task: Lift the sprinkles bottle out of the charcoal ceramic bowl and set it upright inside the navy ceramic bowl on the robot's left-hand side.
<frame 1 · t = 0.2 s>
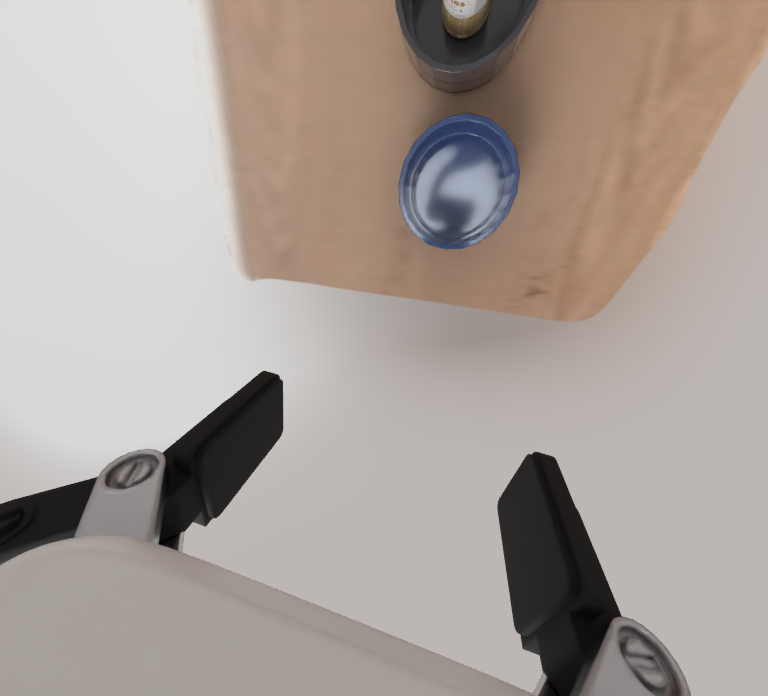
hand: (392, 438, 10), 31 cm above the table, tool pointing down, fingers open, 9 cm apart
charcoal bowl: (466, 10, 26), on the table
sprinkles bottle: (466, 9, 26), resting on charcoal bowl
navy bowl: (455, 191, 33), on the table
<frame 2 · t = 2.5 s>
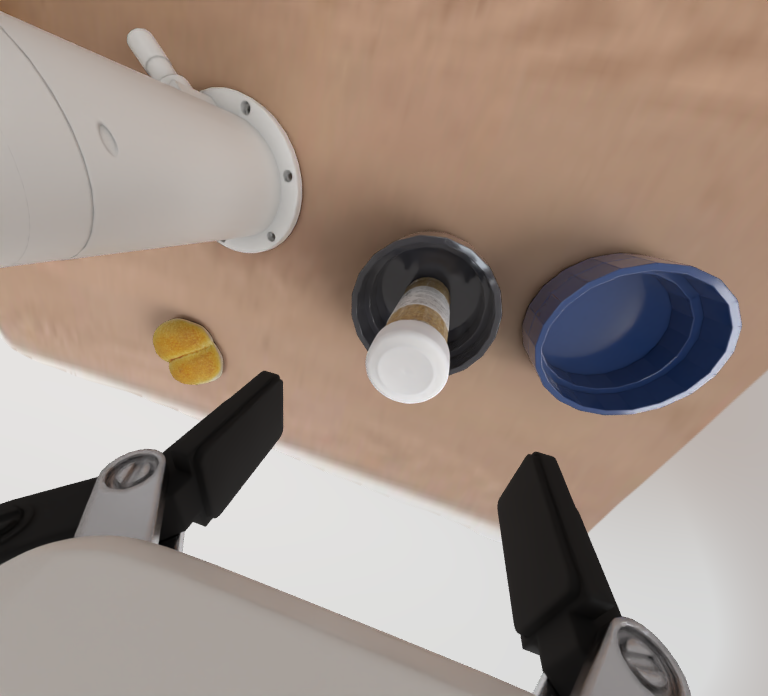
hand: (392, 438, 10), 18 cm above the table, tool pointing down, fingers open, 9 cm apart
charcoal bowl: (427, 298, 26), on the table
sprinkles bottle: (426, 298, 26), resting on charcoal bowl
bread roll: (199, 348, 36), on the table
navy bowl: (596, 324, 24), on the table
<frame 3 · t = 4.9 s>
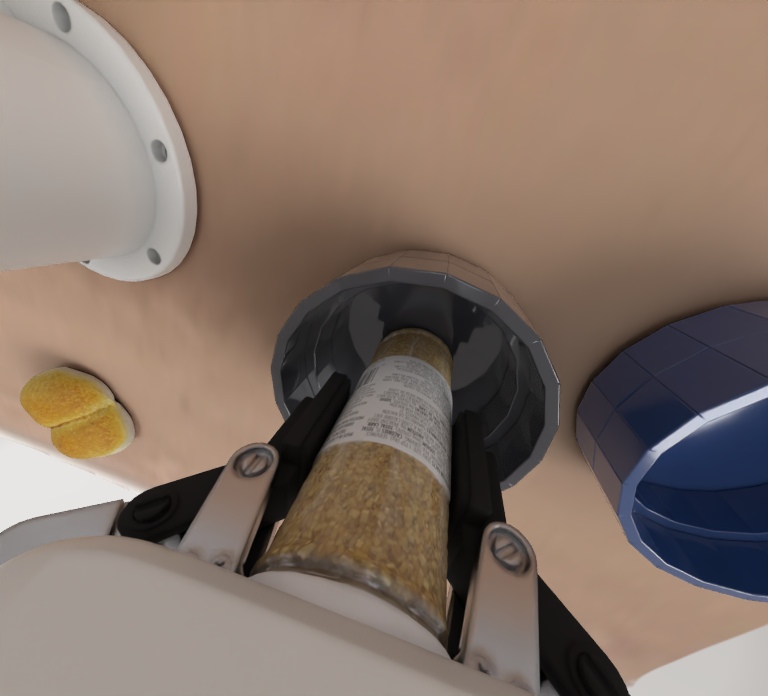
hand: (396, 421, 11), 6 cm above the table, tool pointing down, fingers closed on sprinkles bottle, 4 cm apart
charcoal bowl: (414, 357, 16), on the table
sprinkles bottle: (414, 359, 16), resting on charcoal bowl, touching gripper
bread roll: (102, 404, 26), on the table
navy bowl: (712, 414, 13), on the table
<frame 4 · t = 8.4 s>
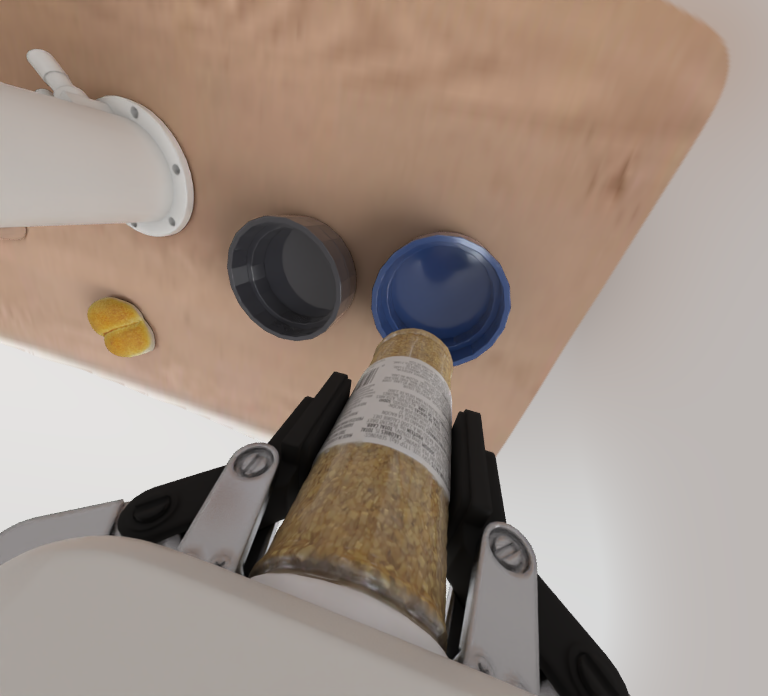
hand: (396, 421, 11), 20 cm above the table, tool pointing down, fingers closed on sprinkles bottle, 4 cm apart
charcoal bowl: (306, 274, 31), on the table
sprinkles bottle: (413, 359, 16), point 15 cm above the table, touching gripper
bread roll: (134, 325, 41), on the table
navy bowl: (439, 293, 28), on the table
beer glass: (8, 215, 37), on the table
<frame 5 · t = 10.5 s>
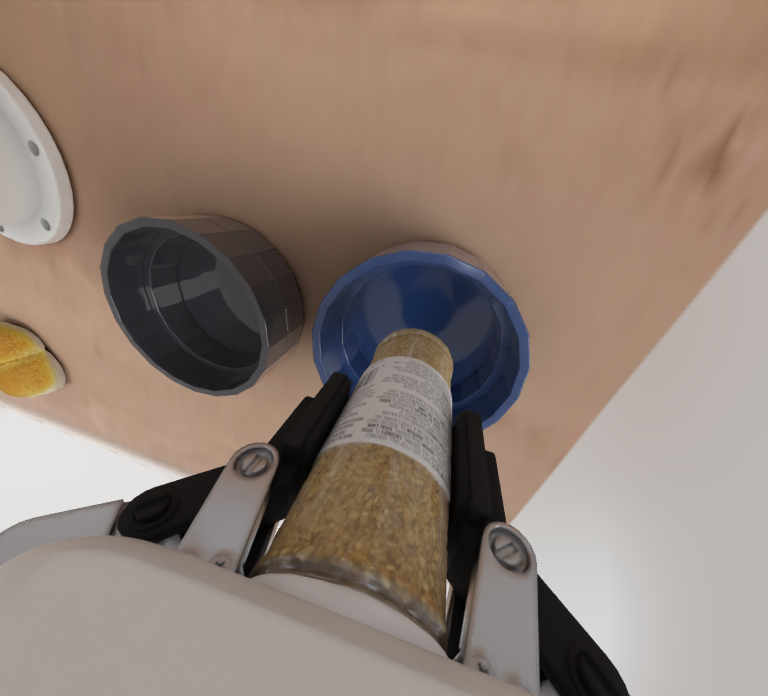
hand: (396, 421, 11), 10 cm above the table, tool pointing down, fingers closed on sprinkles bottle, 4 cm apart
charcoal bowl: (237, 298, 22), on the table
sprinkles bottle: (413, 360, 16), point 4 cm above the table, touching gripper
bread roll: (39, 355, 32), on the table
navy bowl: (420, 329, 20), on the table
when the fingers open (6 cm above the table, at t = 12.0 s): sprinkles bottle stays where it is, resting on navy bowl.
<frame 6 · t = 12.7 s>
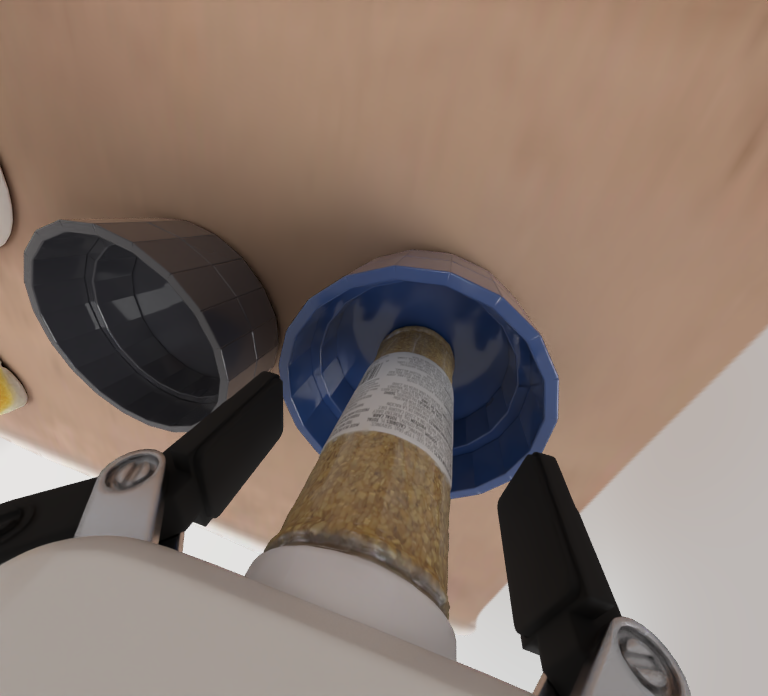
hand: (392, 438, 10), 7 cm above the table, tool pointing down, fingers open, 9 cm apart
charcoal bowl: (202, 314, 19), on the table
sprinkles bottle: (416, 356, 16), resting on navy bowl
navy bowl: (417, 355, 16), on the table
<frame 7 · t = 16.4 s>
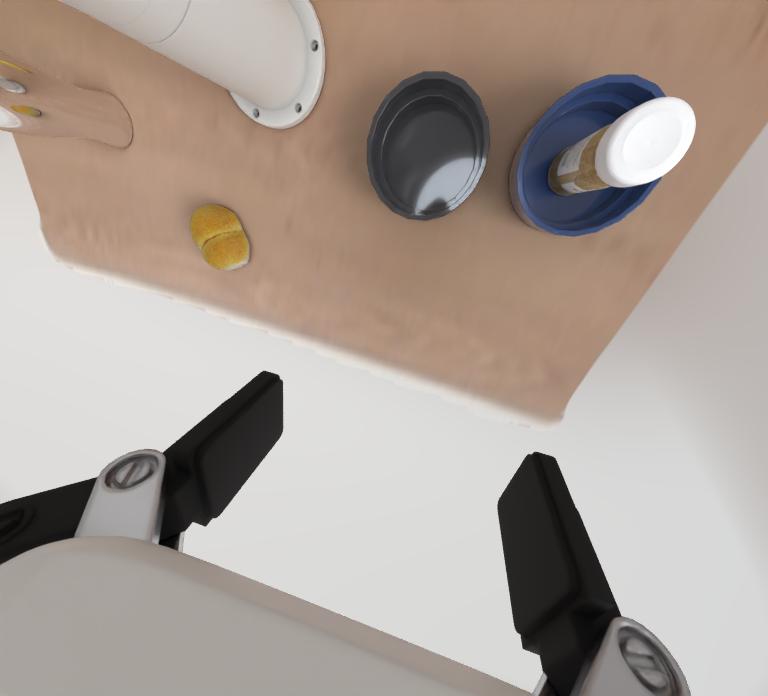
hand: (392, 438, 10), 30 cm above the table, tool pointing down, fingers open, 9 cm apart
charcoal bowl: (429, 161, 31), on the table
sprinkles bottle: (570, 171, 29), resting on navy bowl
bread roll: (228, 239, 41), on the table
navy bowl: (569, 171, 29), on the table
beer glass: (115, 121, 38), on the table
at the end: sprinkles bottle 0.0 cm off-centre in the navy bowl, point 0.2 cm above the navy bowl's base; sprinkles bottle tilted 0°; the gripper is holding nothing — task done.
